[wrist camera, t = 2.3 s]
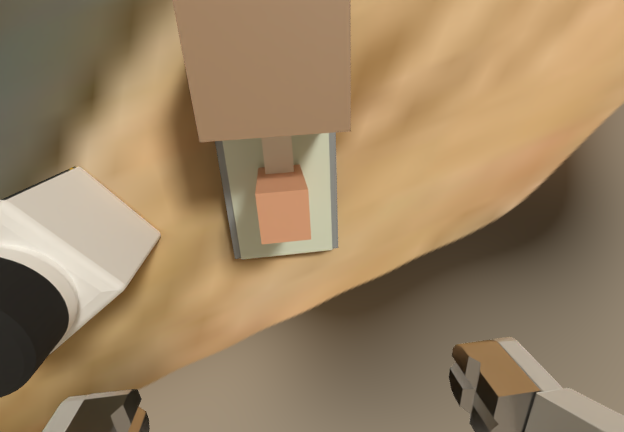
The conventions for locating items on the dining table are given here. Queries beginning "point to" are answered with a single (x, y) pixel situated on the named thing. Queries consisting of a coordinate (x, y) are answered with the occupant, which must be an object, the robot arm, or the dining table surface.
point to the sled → (281, 194)
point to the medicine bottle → (61, 265)
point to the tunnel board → (270, 101)
